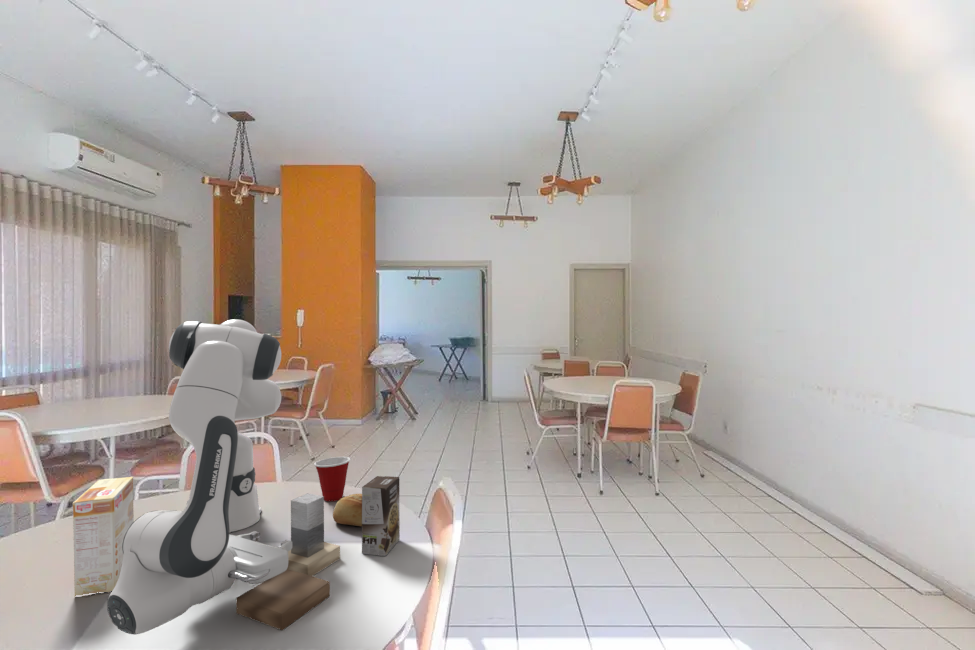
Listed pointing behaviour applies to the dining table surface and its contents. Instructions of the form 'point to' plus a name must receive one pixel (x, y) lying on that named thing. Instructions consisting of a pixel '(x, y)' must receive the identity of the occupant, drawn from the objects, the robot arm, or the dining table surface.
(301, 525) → the grey tall rectangular block
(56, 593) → the dining table surface
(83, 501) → the coffeecake box
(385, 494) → the coffee box
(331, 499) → the plastic cup
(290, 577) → the walnut stand
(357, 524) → the bread roll
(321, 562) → the birch stand
